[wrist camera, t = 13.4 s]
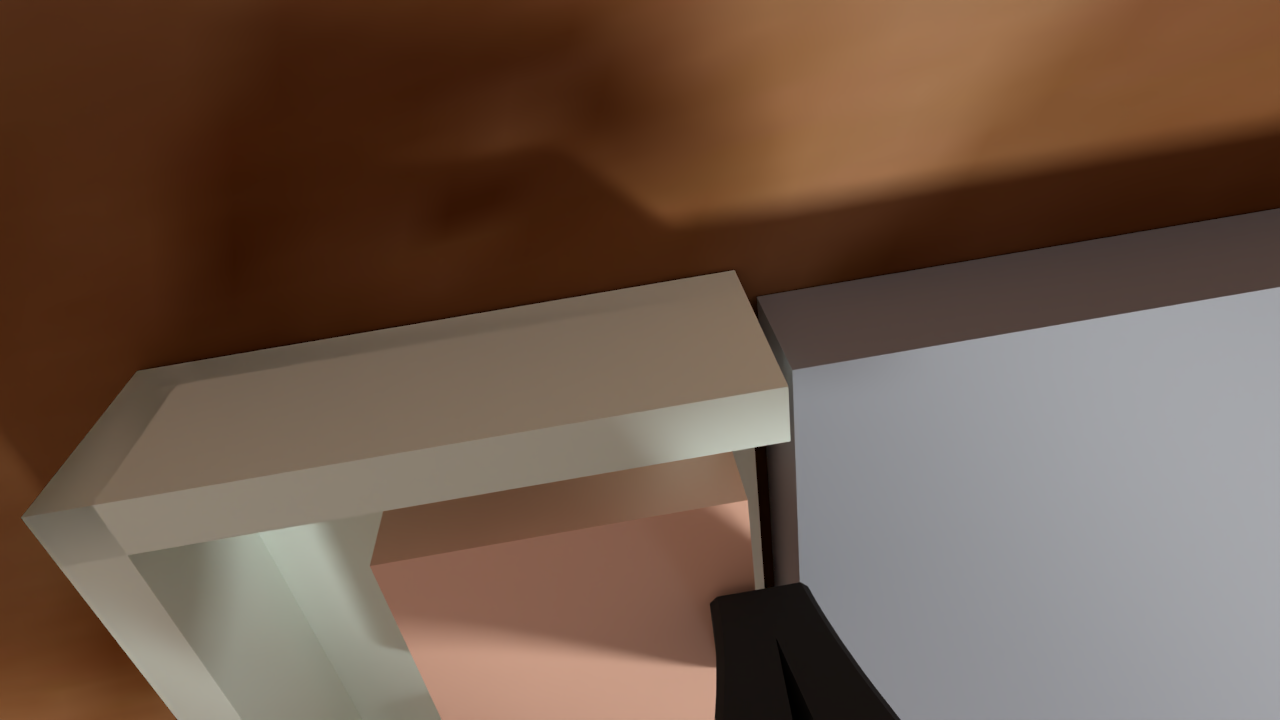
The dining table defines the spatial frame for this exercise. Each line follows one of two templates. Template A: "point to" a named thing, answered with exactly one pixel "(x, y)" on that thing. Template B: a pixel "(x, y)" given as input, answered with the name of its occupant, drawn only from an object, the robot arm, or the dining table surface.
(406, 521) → the terracotta tile
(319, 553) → the tray
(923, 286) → the board
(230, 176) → the dining table surface
